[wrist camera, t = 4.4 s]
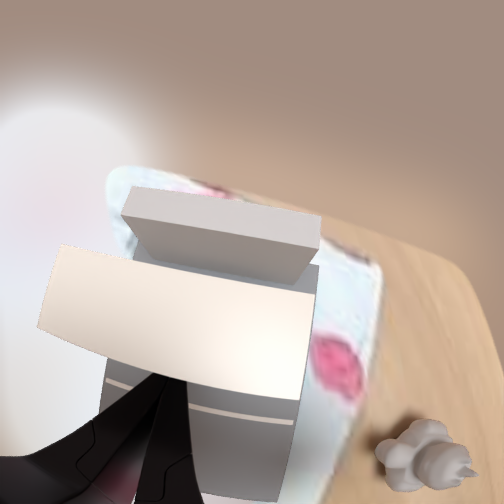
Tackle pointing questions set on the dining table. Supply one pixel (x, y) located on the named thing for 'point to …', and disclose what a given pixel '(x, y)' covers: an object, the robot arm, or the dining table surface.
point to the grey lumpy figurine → (424, 458)
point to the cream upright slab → (180, 322)
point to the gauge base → (238, 269)
